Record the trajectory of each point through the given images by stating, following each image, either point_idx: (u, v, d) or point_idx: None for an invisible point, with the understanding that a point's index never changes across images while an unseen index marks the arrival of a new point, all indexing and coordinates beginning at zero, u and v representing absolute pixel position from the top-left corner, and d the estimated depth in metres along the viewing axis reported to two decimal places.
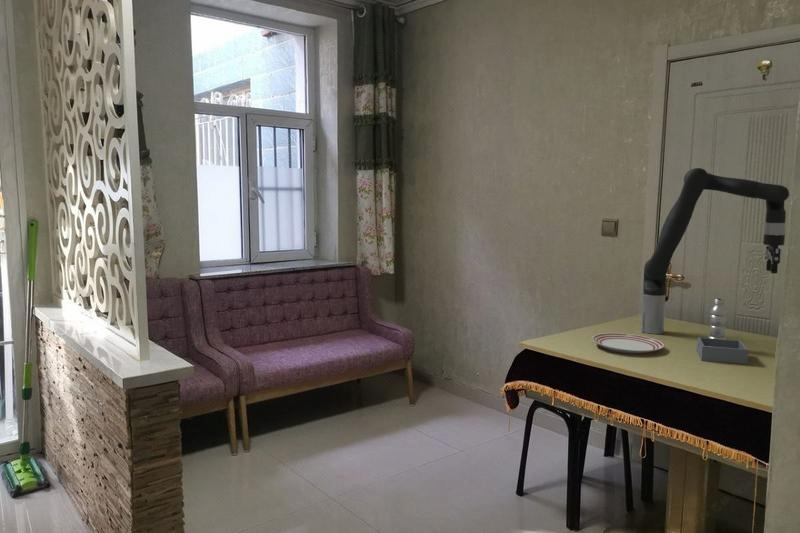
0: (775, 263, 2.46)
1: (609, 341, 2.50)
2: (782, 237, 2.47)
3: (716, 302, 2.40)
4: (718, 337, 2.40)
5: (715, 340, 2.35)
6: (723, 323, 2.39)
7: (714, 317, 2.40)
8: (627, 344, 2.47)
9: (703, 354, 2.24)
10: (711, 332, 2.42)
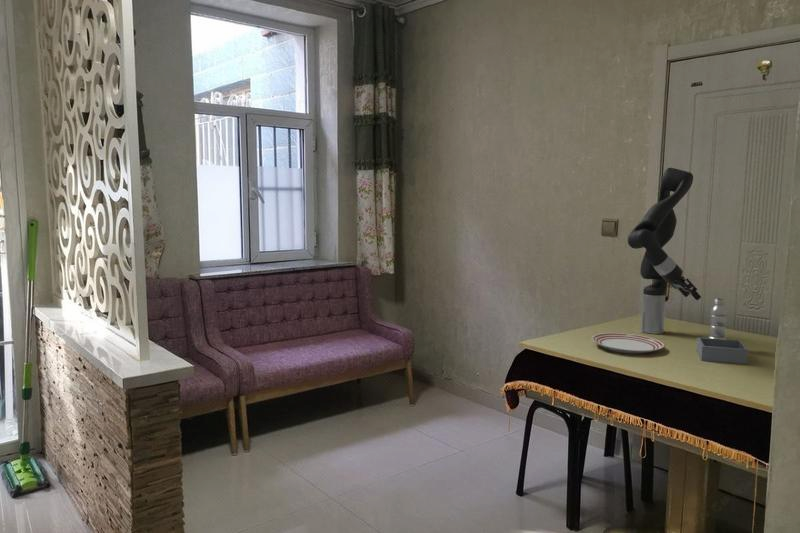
0: None
1: (609, 341, 2.50)
2: None
3: (716, 302, 2.40)
4: (718, 337, 2.40)
5: (715, 340, 2.35)
6: (723, 323, 2.39)
7: (714, 317, 2.40)
8: (627, 344, 2.47)
9: (703, 354, 2.24)
10: (711, 332, 2.42)
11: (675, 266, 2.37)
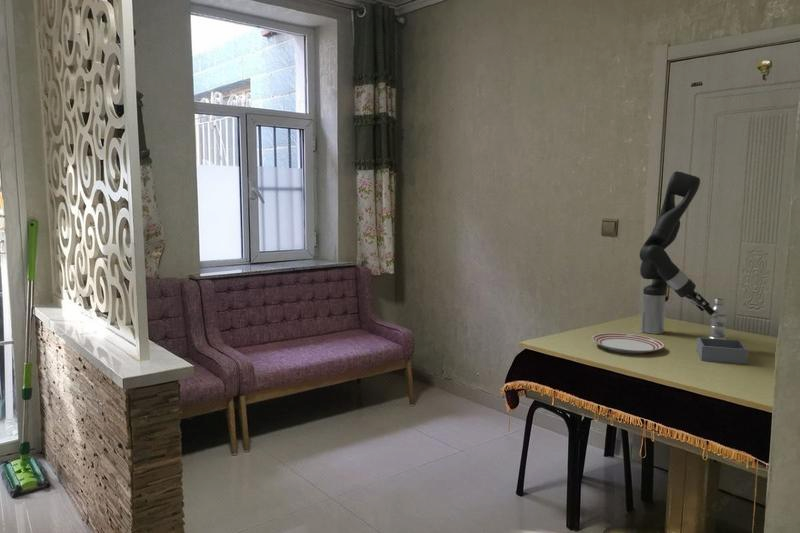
0: None
1: (609, 341, 2.50)
2: None
3: (716, 302, 2.40)
4: (718, 337, 2.40)
5: (715, 340, 2.35)
6: (723, 323, 2.39)
7: (714, 317, 2.40)
8: (627, 344, 2.47)
9: (703, 354, 2.24)
10: (711, 332, 2.42)
11: (687, 281, 2.38)
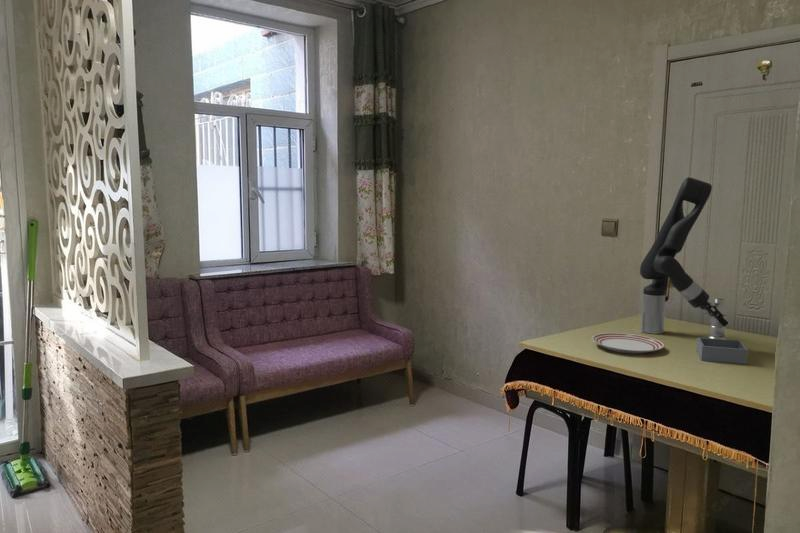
0: None
1: (609, 341, 2.50)
2: None
3: (716, 302, 2.40)
4: (718, 337, 2.40)
5: (715, 340, 2.35)
6: None
7: None
8: (627, 344, 2.47)
9: (703, 354, 2.24)
10: (711, 332, 2.42)
11: (701, 292, 2.38)
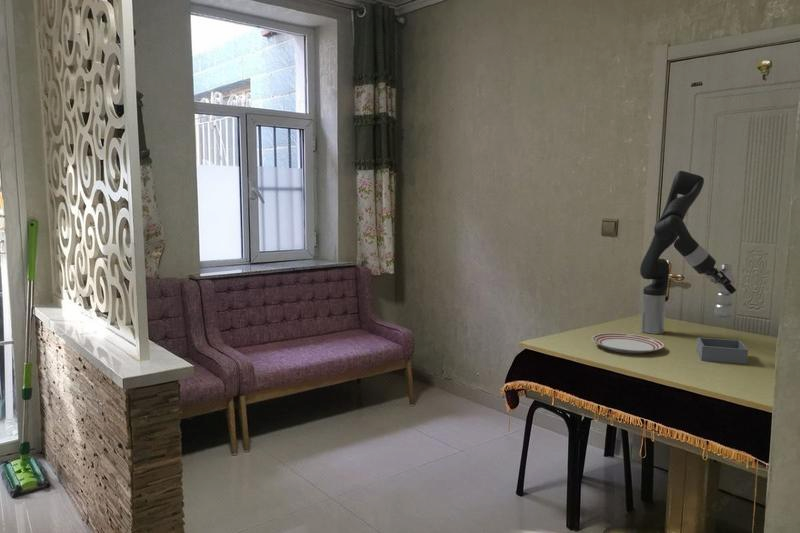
0: None
1: (609, 341, 2.50)
2: None
3: (723, 267, 2.24)
4: (725, 305, 2.24)
5: (715, 340, 2.35)
6: None
7: None
8: (627, 344, 2.47)
9: (703, 354, 2.24)
10: (718, 300, 2.26)
11: (707, 256, 2.22)
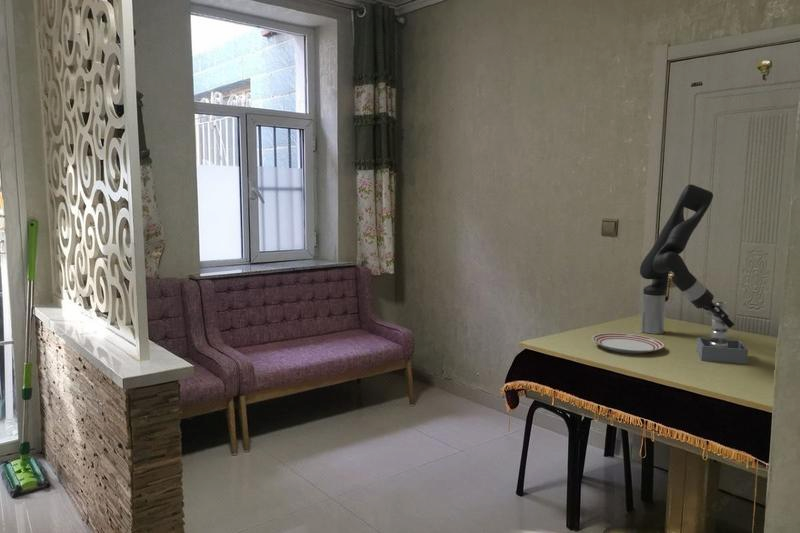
0: None
1: (609, 341, 2.50)
2: None
3: None
4: (720, 343, 2.26)
5: None
6: (725, 328, 2.26)
7: (716, 322, 2.26)
8: (627, 344, 2.47)
9: (703, 354, 2.24)
10: (712, 337, 2.28)
11: (705, 291, 2.23)
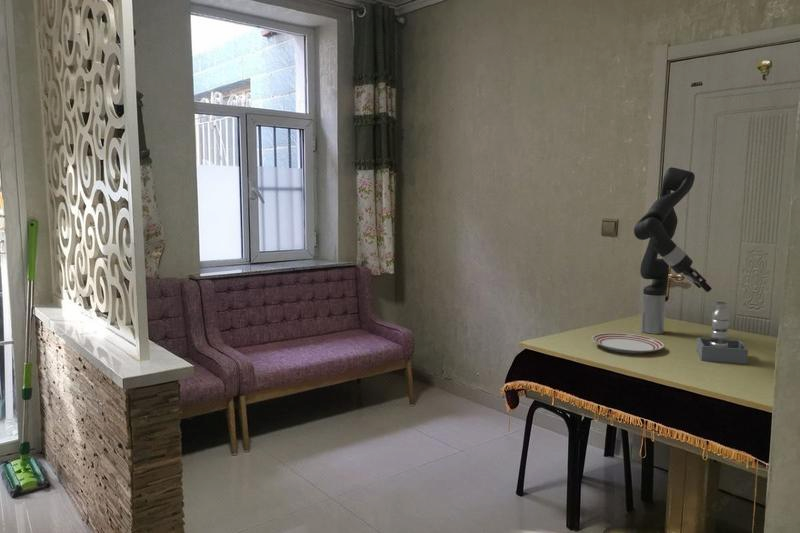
0: None
1: (609, 341, 2.50)
2: None
3: (718, 306, 2.26)
4: (720, 343, 2.26)
5: None
6: (725, 328, 2.26)
7: (716, 322, 2.26)
8: (627, 344, 2.47)
9: (703, 354, 2.24)
10: (712, 337, 2.28)
11: (684, 257, 2.30)
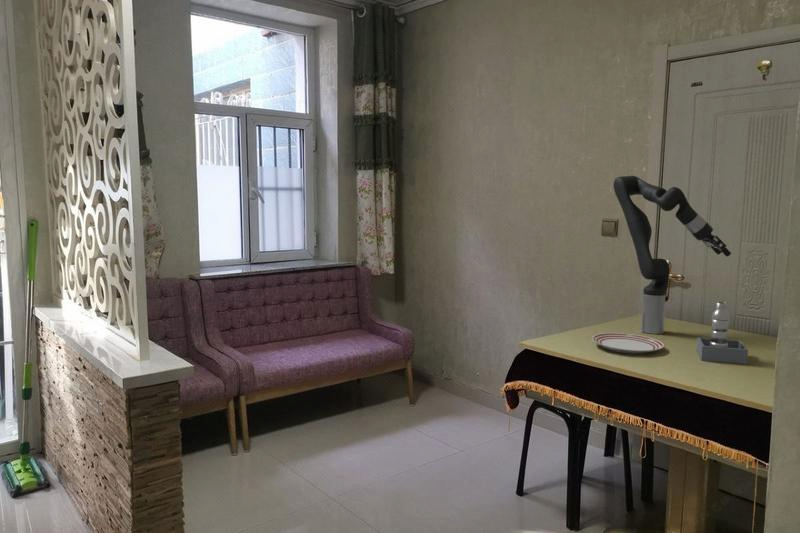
0: None
1: (609, 341, 2.50)
2: None
3: (718, 306, 2.26)
4: (720, 343, 2.26)
5: None
6: (725, 328, 2.26)
7: (716, 322, 2.26)
8: (628, 344, 2.47)
9: (703, 354, 2.24)
10: (712, 337, 2.28)
11: (705, 224, 2.50)
